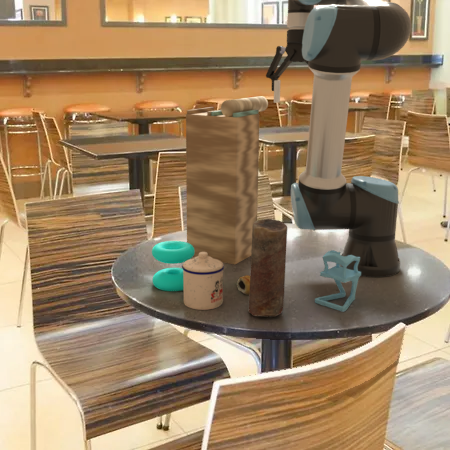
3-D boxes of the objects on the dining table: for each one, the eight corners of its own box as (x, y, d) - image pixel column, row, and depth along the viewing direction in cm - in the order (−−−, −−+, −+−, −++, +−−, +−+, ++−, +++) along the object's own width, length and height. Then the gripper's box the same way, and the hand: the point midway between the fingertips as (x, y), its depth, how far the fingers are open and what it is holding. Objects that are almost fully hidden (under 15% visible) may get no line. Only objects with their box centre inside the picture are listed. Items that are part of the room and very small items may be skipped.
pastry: (269, 283, 158) (270, 268, 157) (283, 292, 152) (283, 277, 151) (234, 288, 154) (234, 273, 153) (246, 298, 148) (246, 282, 147)
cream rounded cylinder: (253, 108, 179) (256, 94, 178) (265, 113, 177) (269, 98, 176) (219, 113, 164) (222, 98, 163) (232, 118, 162) (236, 103, 161)
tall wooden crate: (210, 244, 188) (210, 106, 178) (256, 252, 180) (259, 109, 170) (187, 255, 178) (185, 110, 168) (234, 264, 170) (236, 113, 160)
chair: (364, 301, 146) (367, 250, 143) (343, 312, 140) (346, 258, 137) (335, 293, 151) (338, 243, 148) (314, 302, 145) (316, 251, 142)
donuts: (197, 250, 149) (153, 252, 147) (197, 291, 151) (154, 294, 150) (191, 238, 158) (150, 240, 157) (191, 277, 161) (151, 279, 159)
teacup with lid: (219, 312, 140) (219, 260, 137) (177, 309, 141) (177, 257, 138) (229, 292, 151) (230, 244, 148) (191, 289, 153) (191, 241, 150)
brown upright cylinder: (283, 307, 142) (286, 218, 137) (285, 321, 135) (288, 228, 130) (248, 307, 143) (249, 218, 137) (248, 320, 136) (250, 227, 130)
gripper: (345, 28, 186) (341, 104, 191) (267, 29, 198) (265, 100, 204) (336, 28, 180) (332, 106, 185) (255, 28, 192) (254, 102, 197)
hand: (297, 103), depth 194 cm, fingers open, 13 cm apart
